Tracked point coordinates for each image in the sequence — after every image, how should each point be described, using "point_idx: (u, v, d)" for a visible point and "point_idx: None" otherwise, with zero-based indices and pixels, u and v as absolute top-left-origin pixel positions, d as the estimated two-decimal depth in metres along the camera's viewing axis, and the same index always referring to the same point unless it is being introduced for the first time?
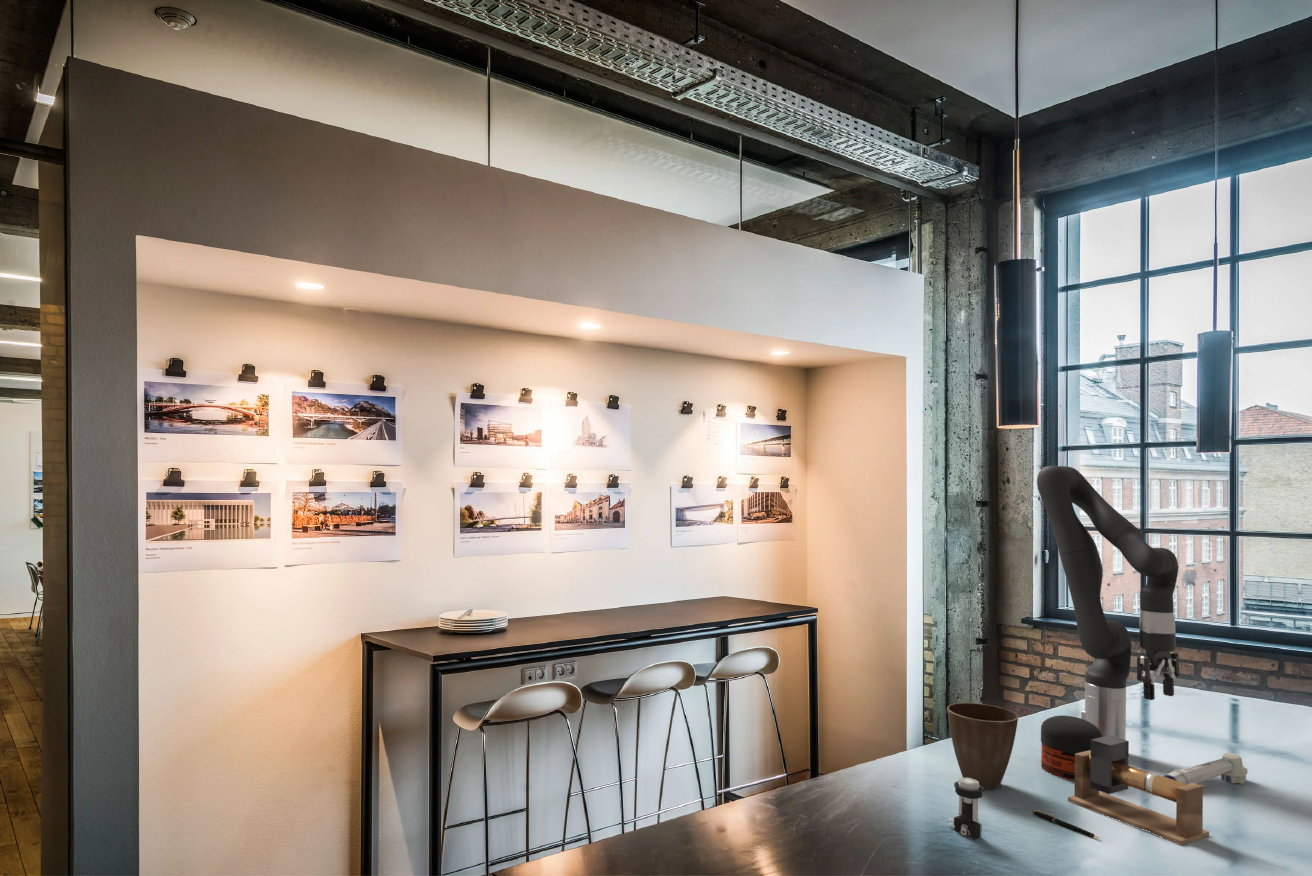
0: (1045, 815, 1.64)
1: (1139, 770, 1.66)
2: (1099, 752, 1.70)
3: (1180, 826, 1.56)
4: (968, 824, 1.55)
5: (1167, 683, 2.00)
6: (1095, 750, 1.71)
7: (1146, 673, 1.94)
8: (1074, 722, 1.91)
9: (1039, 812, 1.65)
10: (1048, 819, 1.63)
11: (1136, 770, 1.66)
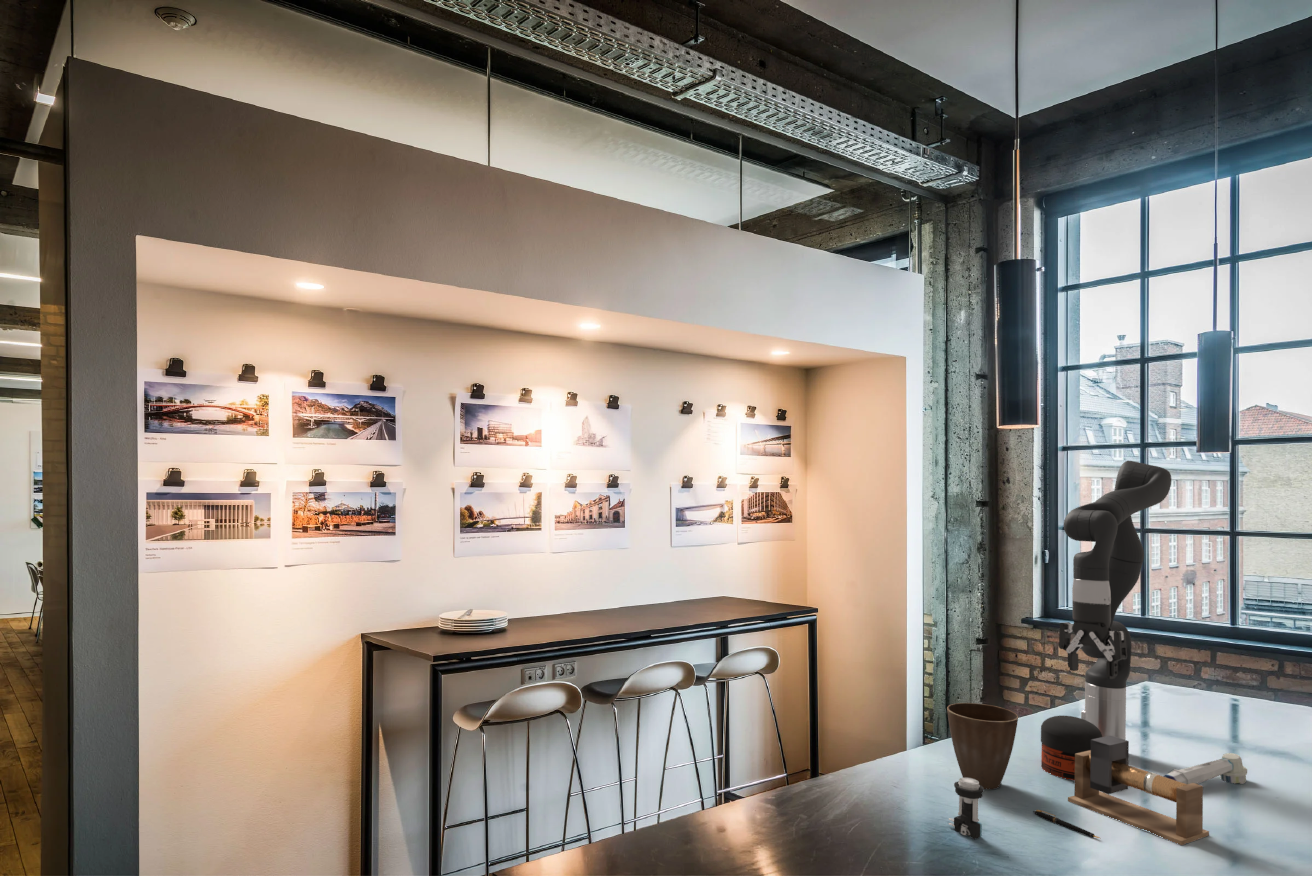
0: (1046, 815, 1.64)
1: (1139, 770, 1.66)
2: (1099, 752, 1.70)
3: (1180, 826, 1.56)
4: (968, 824, 1.55)
5: (1075, 657, 1.83)
6: (1095, 750, 1.71)
7: (1126, 649, 1.74)
8: (1074, 722, 1.91)
9: (1040, 812, 1.66)
10: (1049, 819, 1.63)
11: (1136, 770, 1.66)
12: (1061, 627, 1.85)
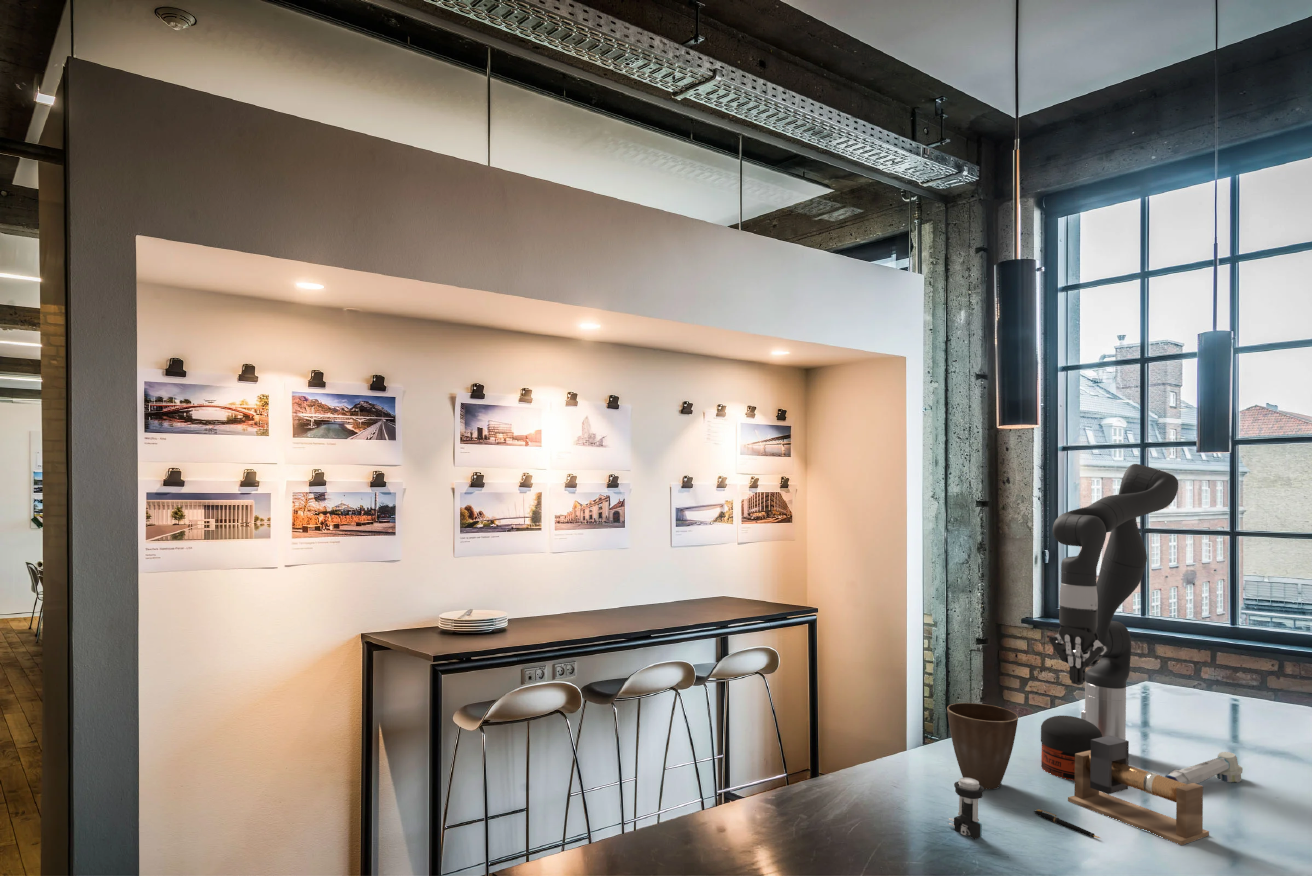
0: (1046, 814, 1.64)
1: (1139, 770, 1.66)
2: (1099, 752, 1.70)
3: (1180, 826, 1.56)
4: (968, 824, 1.55)
5: None
6: (1095, 750, 1.71)
7: (1097, 660, 1.76)
8: (1074, 722, 1.91)
9: (1040, 811, 1.66)
10: (1049, 818, 1.63)
11: (1136, 770, 1.66)
12: (1052, 641, 1.84)
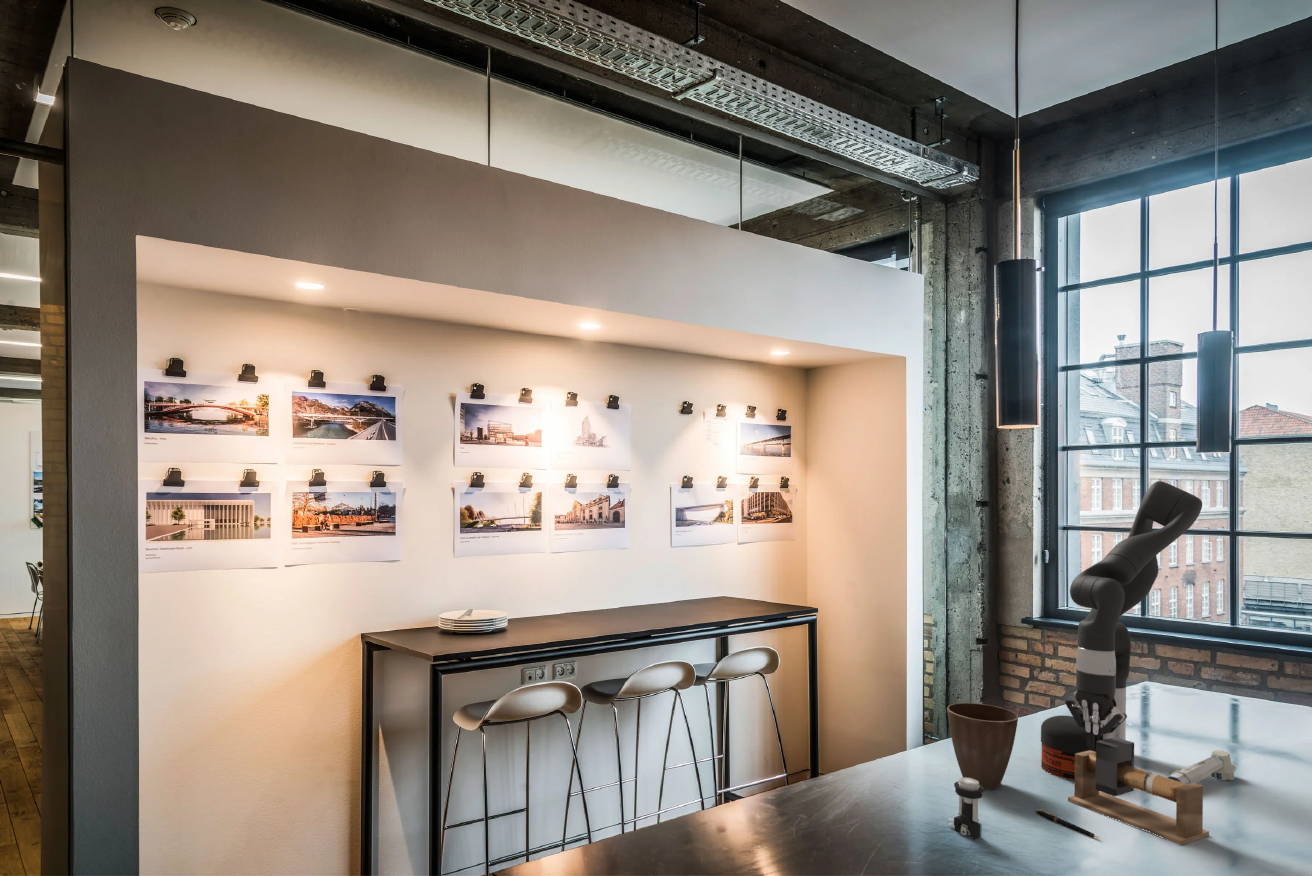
0: (1047, 814, 1.64)
1: (1139, 770, 1.66)
2: (1104, 754, 1.69)
3: (1180, 826, 1.56)
4: (968, 824, 1.55)
5: None
6: (1100, 752, 1.70)
7: (1116, 728, 1.72)
8: (1074, 722, 1.91)
9: (1042, 811, 1.66)
10: (1050, 818, 1.64)
11: (1136, 770, 1.66)
12: (1068, 705, 1.79)
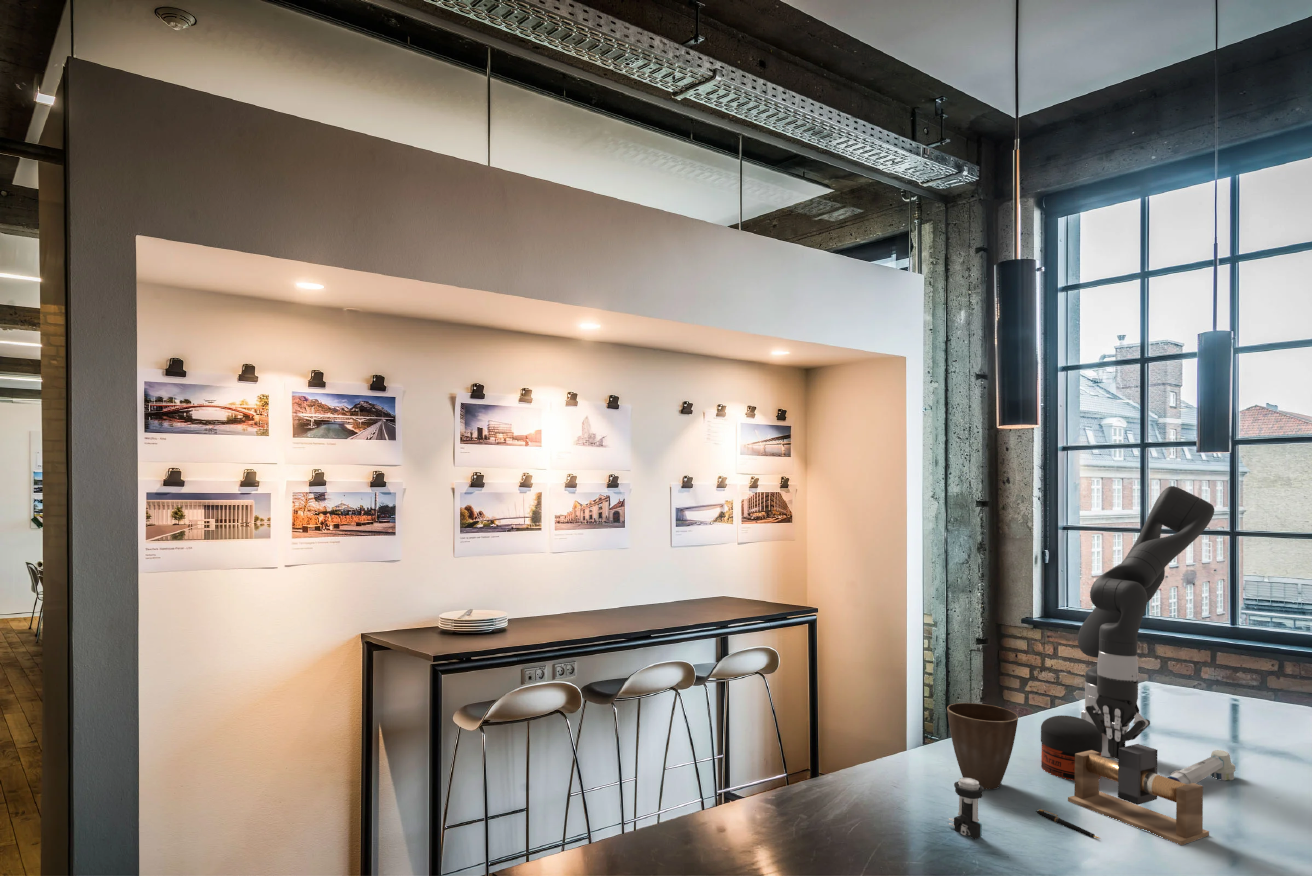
0: (1048, 814, 1.65)
1: None
2: (1127, 761, 1.65)
3: (1180, 826, 1.56)
4: (968, 824, 1.55)
5: None
6: (1123, 759, 1.66)
7: (1138, 734, 1.68)
8: (1074, 722, 1.91)
9: (1042, 811, 1.66)
10: (1050, 818, 1.64)
11: None
12: (1089, 711, 1.75)
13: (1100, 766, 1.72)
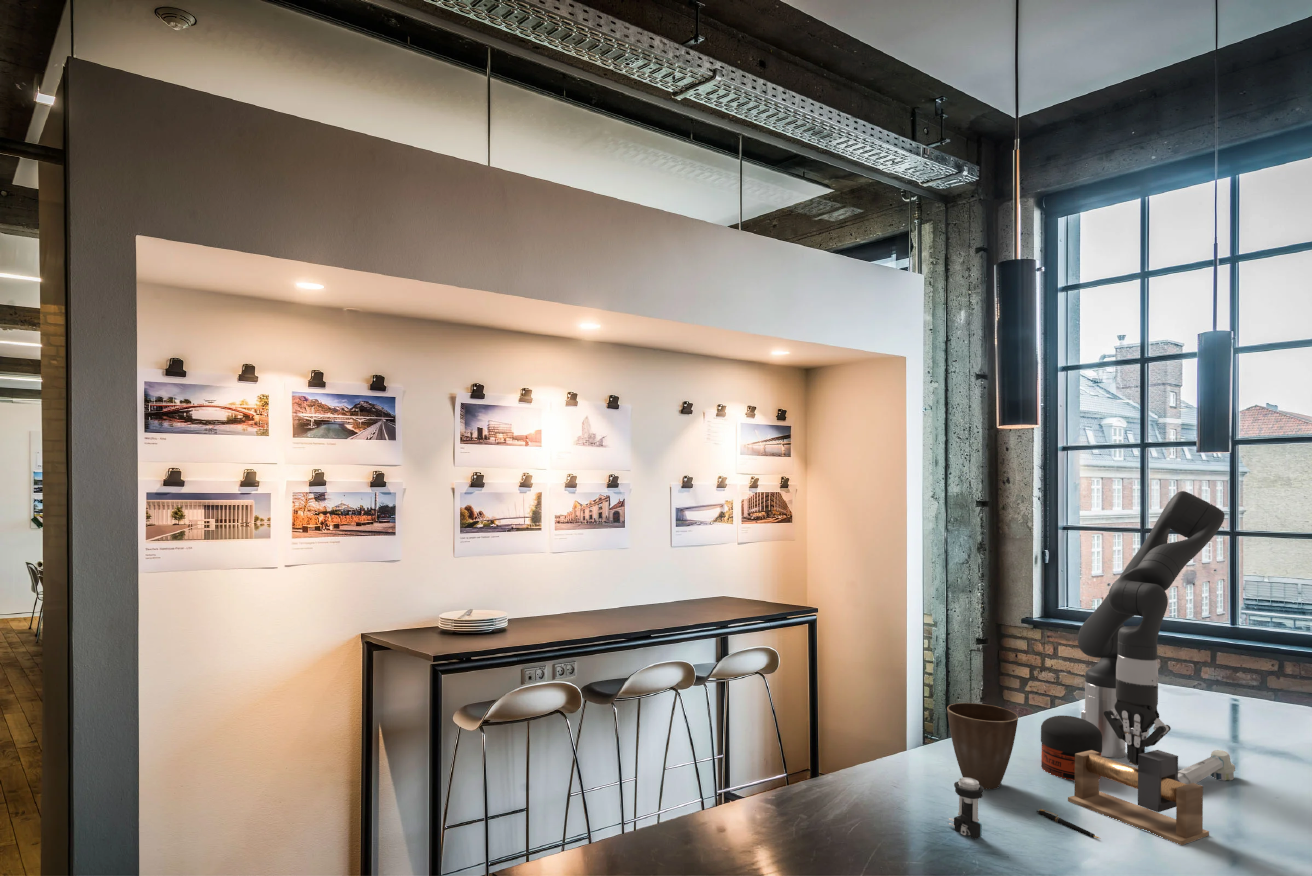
0: (1048, 814, 1.65)
1: None
2: (1147, 768, 1.62)
3: (1180, 826, 1.56)
4: (968, 824, 1.55)
5: None
6: (1143, 765, 1.63)
7: (1158, 740, 1.65)
8: (1074, 722, 1.91)
9: (1043, 811, 1.66)
10: (1051, 818, 1.64)
11: (1136, 770, 1.66)
12: (1107, 716, 1.72)
13: (1100, 766, 1.72)
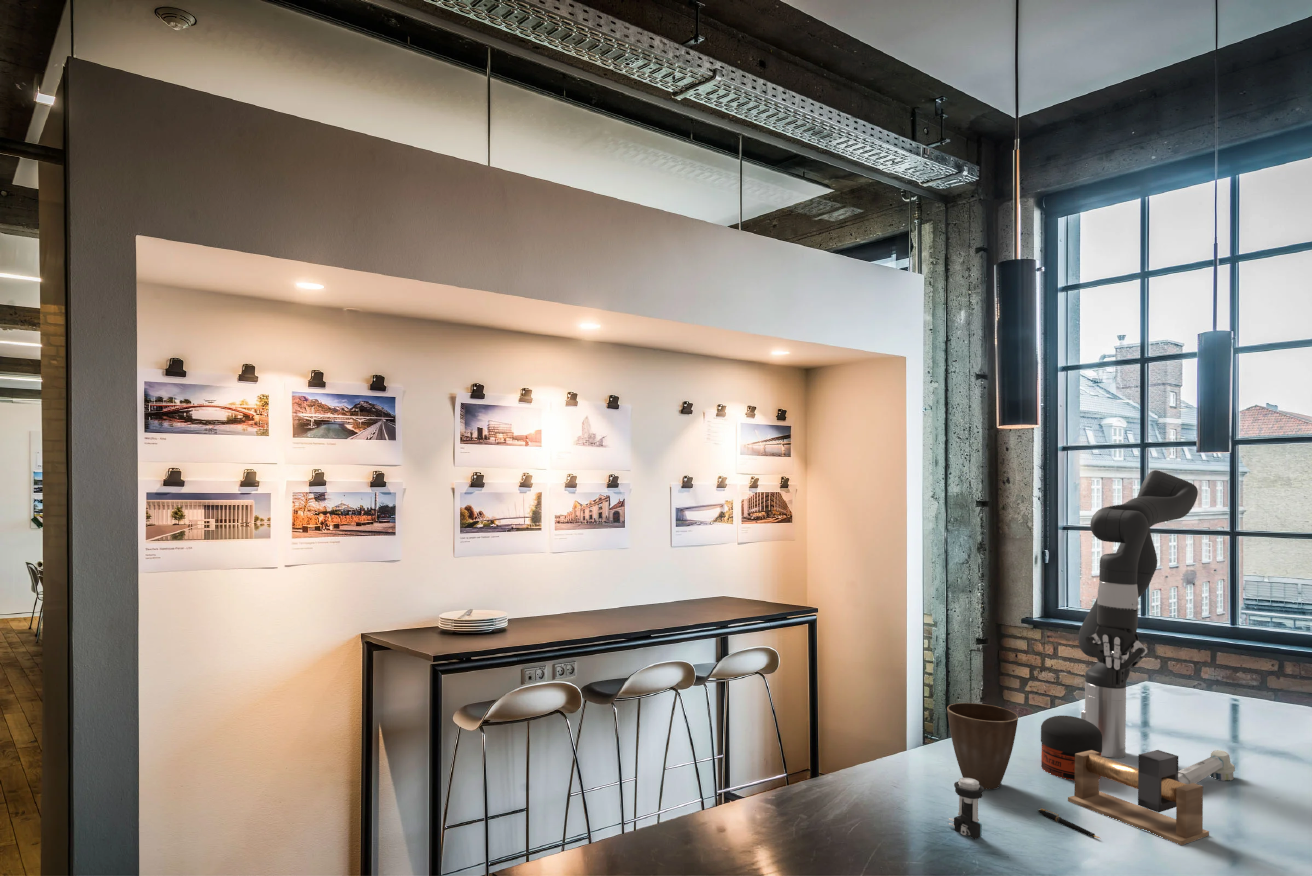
0: (1049, 814, 1.65)
1: None
2: (1148, 768, 1.62)
3: (1180, 826, 1.56)
4: (968, 824, 1.55)
5: None
6: (1143, 766, 1.63)
7: (1138, 662, 1.69)
8: (1074, 722, 1.91)
9: (1044, 811, 1.66)
10: (1051, 818, 1.64)
11: (1136, 770, 1.66)
12: (1088, 641, 1.76)
13: (1100, 766, 1.72)
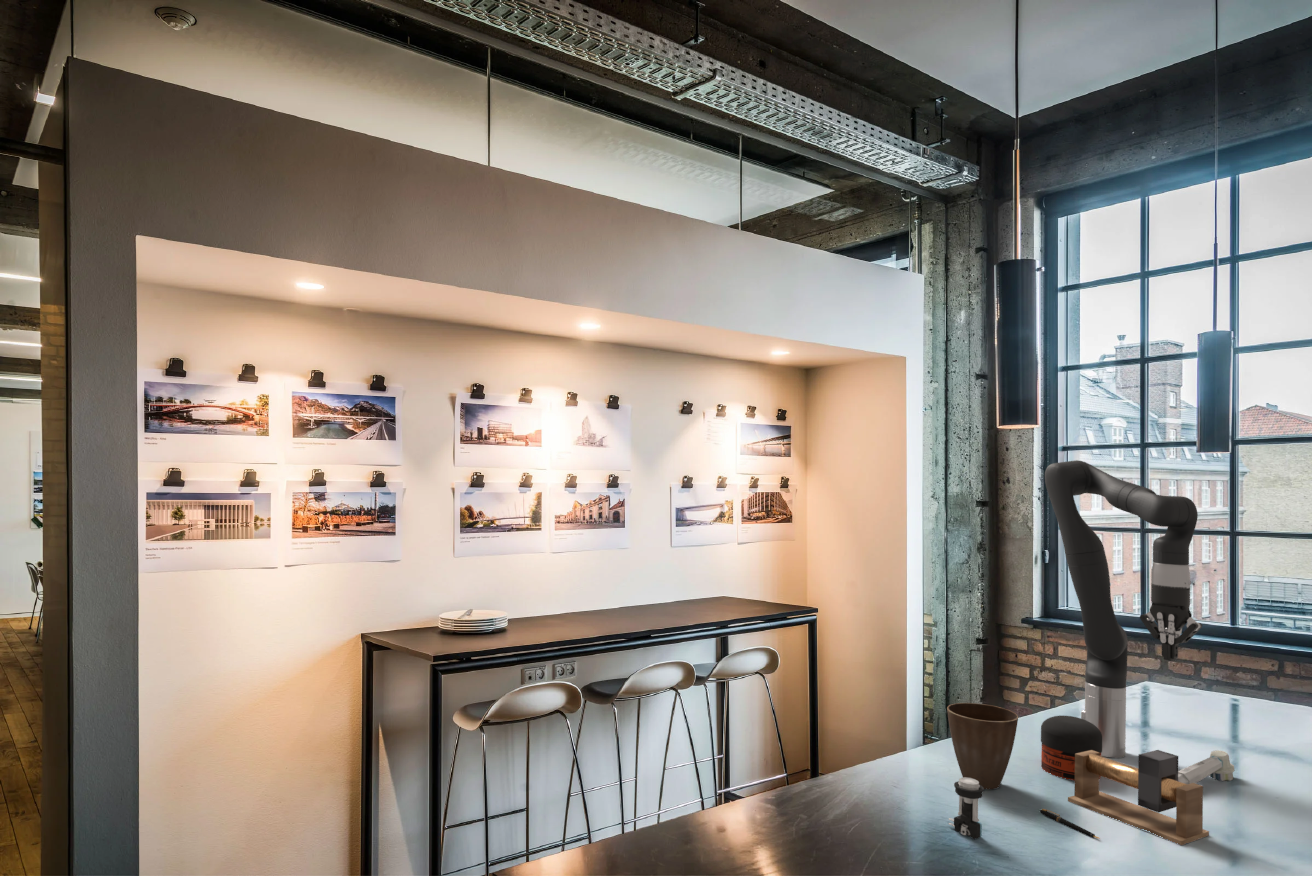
0: (1050, 814, 1.65)
1: None
2: (1148, 768, 1.62)
3: (1180, 826, 1.56)
4: (968, 824, 1.55)
5: None
6: (1143, 766, 1.63)
7: (1191, 637, 1.82)
8: (1074, 722, 1.91)
9: (1045, 811, 1.66)
10: (1053, 818, 1.64)
11: (1136, 770, 1.66)
12: (1143, 619, 1.89)
13: (1100, 766, 1.72)
